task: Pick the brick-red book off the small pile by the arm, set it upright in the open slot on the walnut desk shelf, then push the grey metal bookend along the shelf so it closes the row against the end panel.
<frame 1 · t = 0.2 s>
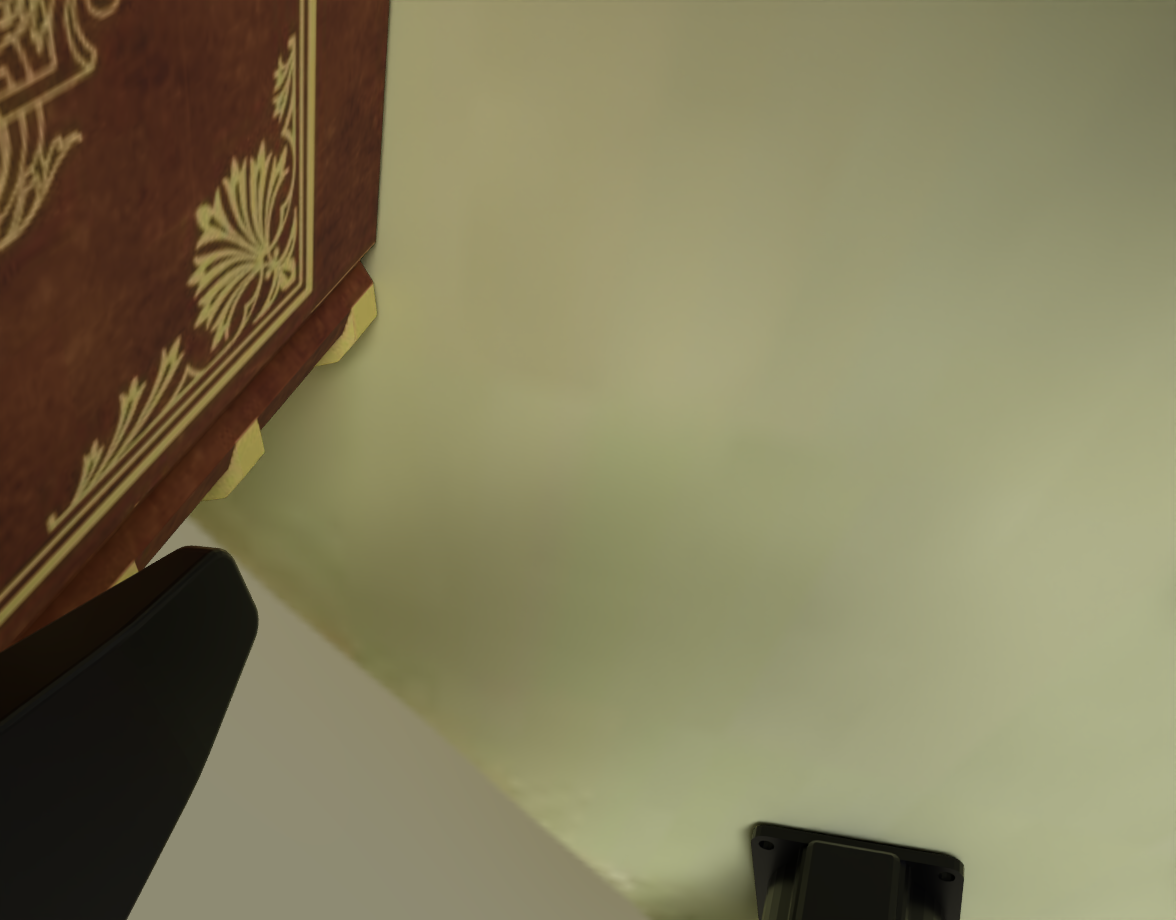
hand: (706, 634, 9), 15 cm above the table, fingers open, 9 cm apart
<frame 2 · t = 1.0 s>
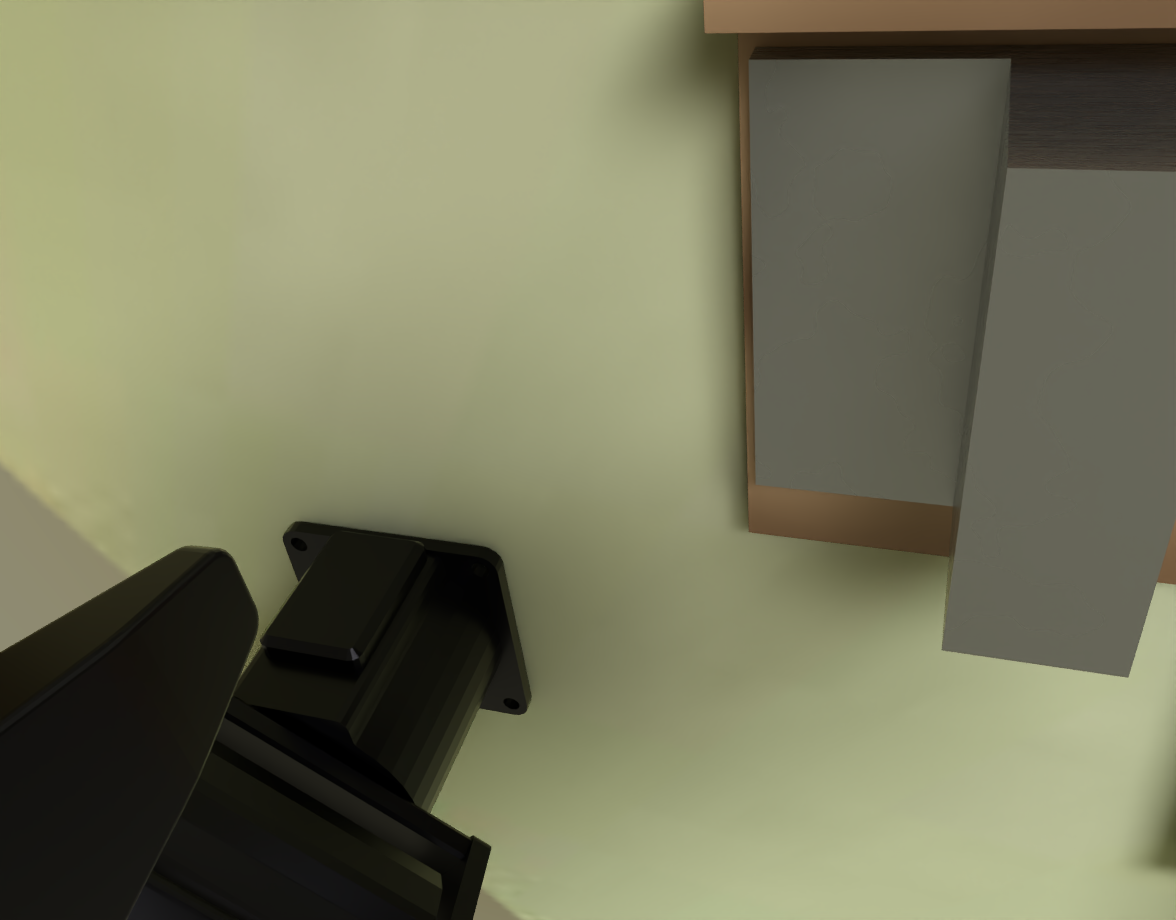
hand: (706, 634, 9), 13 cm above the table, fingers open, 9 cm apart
bookend: (942, 364, 18), point 3 cm above the table, slide at 0.0 cm
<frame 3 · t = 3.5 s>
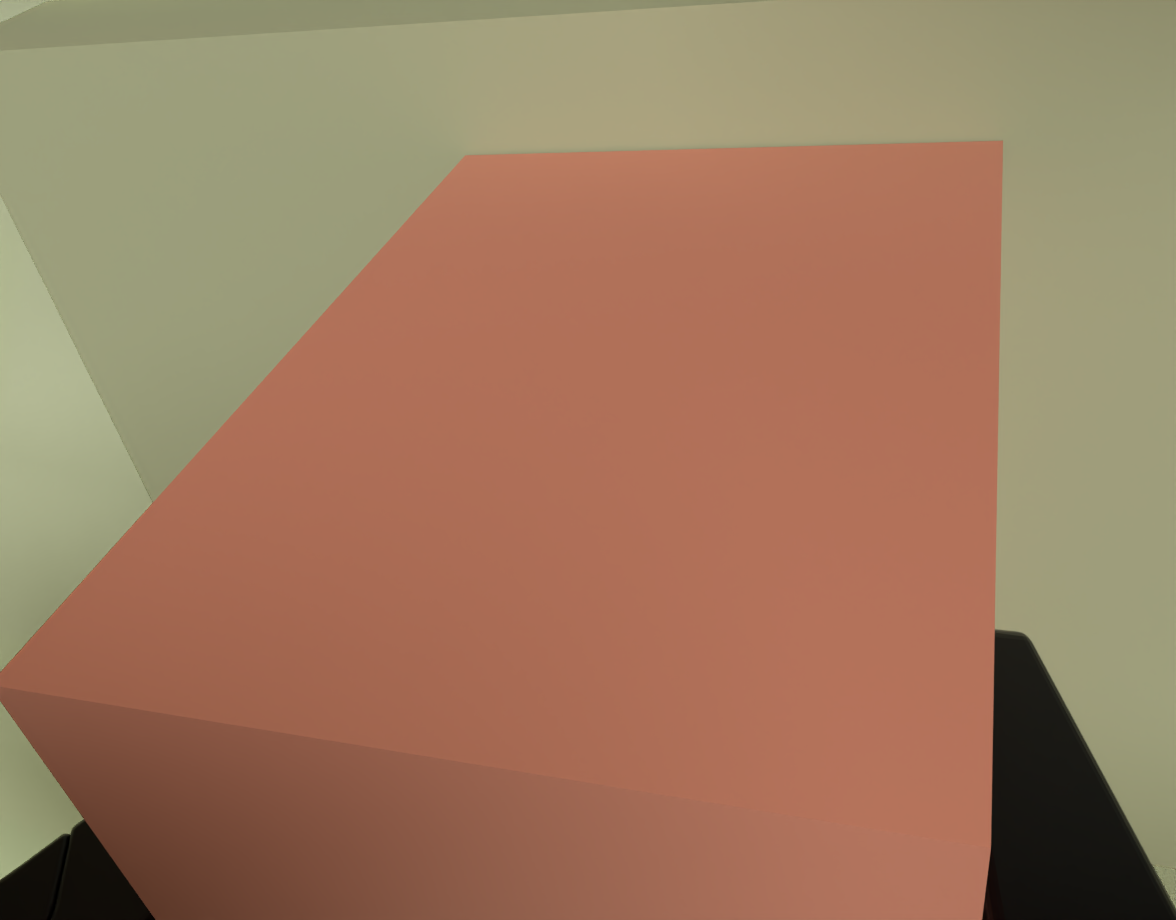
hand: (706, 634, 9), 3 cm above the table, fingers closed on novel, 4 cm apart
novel: (743, 510, 10), point 2 cm above the table, touching gripper
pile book: (739, 374, 12), on the table
when the fingers open (4 cm above the table, at t = 7.0 s): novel drops 1 cm, resting on shelf.
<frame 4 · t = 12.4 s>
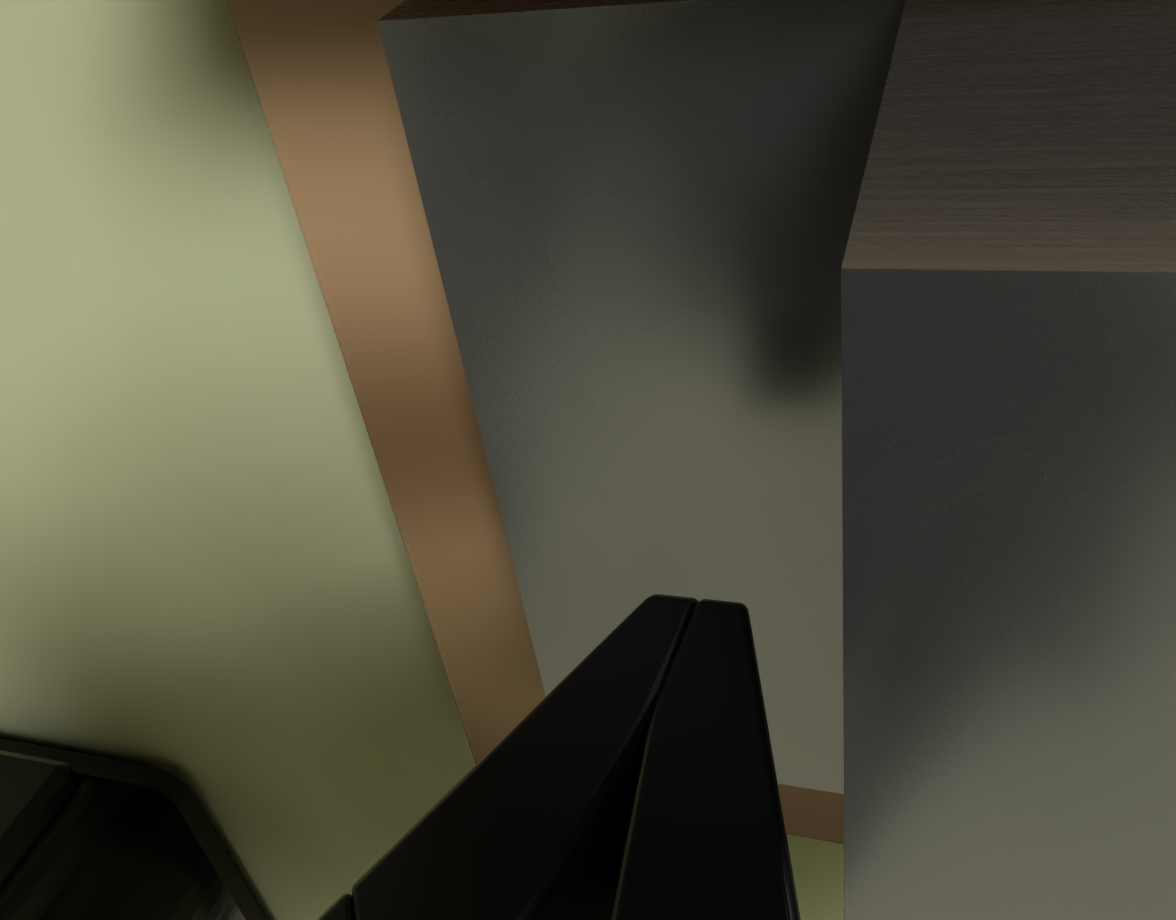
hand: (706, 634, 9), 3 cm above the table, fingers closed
bookend: (813, 627, 9), point 3 cm above the table, slide at 1.5 cm, touching gripper
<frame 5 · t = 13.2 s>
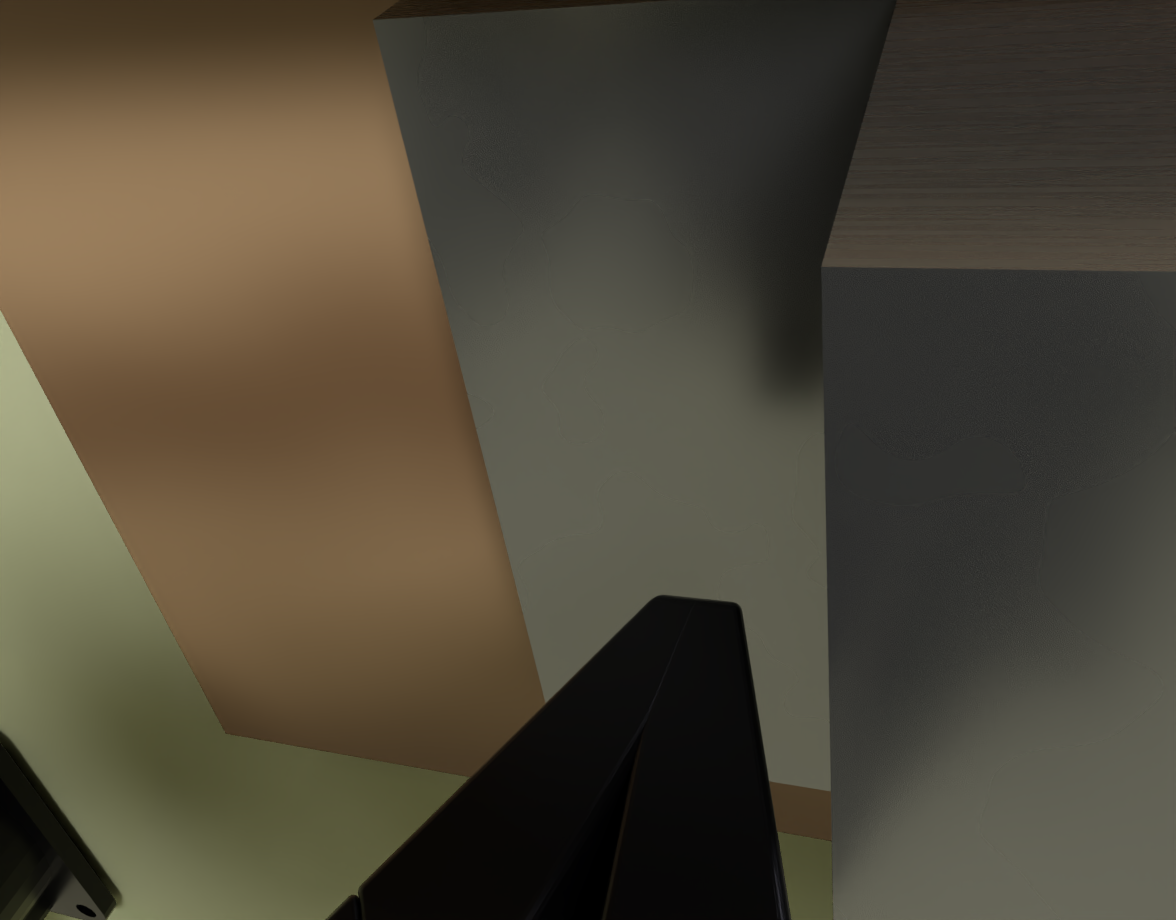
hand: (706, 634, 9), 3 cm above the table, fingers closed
bookend: (806, 625, 9), point 3 cm above the table, slide at 5.9 cm, touching gripper, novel
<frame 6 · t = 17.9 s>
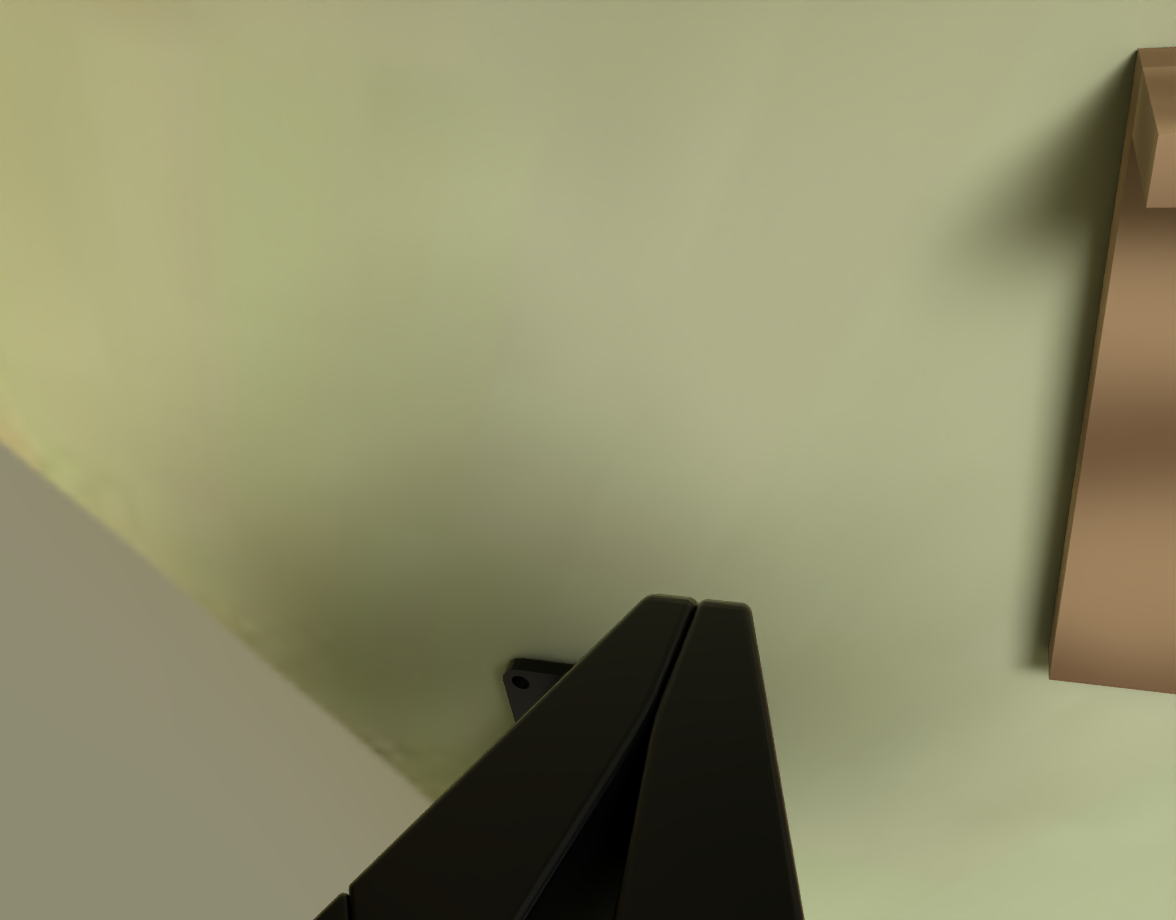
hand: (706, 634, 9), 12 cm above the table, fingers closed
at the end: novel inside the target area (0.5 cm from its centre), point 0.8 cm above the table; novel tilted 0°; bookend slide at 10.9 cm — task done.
